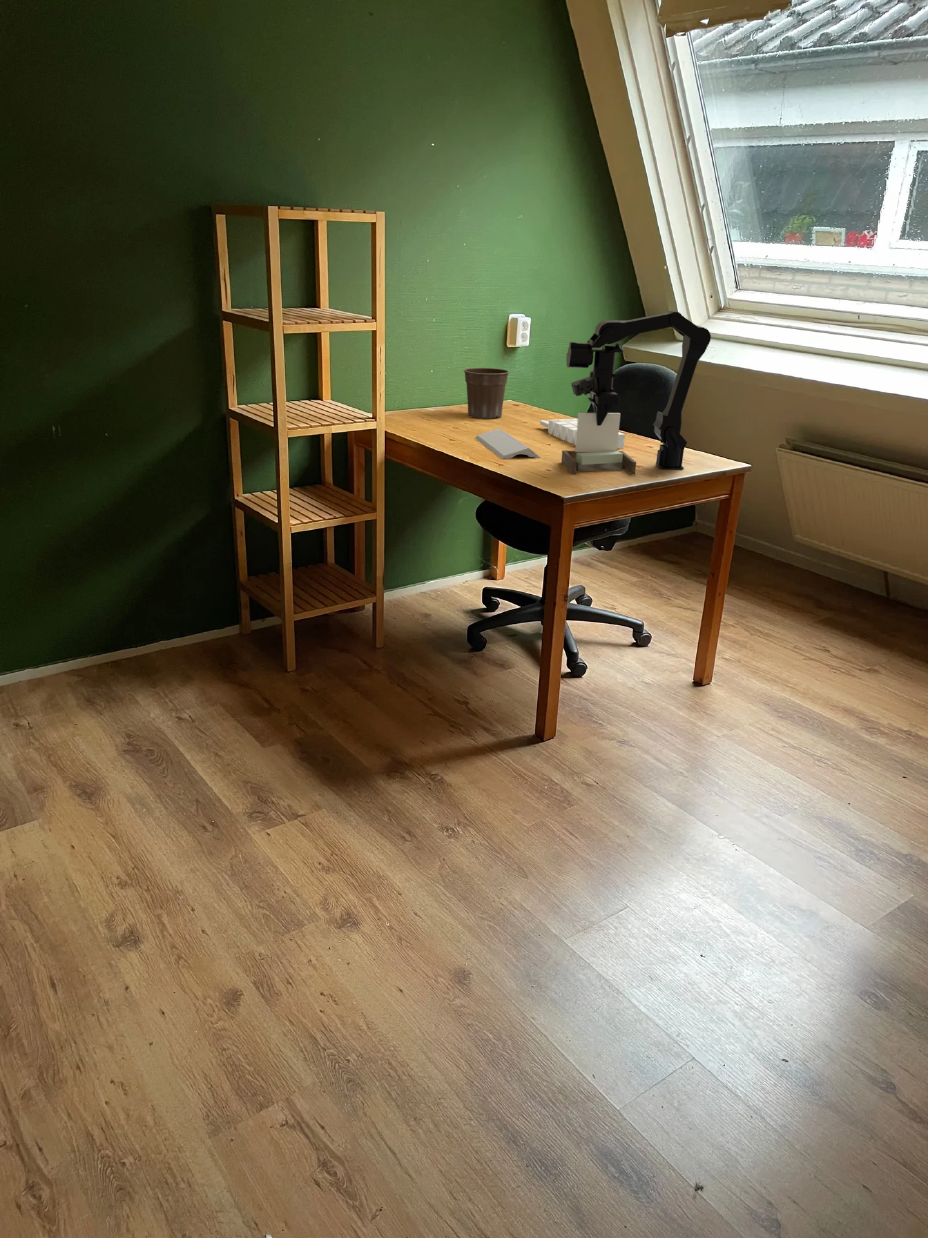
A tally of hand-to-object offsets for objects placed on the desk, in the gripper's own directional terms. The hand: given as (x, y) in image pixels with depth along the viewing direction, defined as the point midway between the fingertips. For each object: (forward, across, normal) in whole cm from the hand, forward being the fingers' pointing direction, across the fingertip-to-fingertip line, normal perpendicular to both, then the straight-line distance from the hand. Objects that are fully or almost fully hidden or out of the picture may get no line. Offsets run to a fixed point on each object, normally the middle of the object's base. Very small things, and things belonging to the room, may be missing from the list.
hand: (598, 424), depth 256 cm
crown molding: (+13, -23, -22) cm, 34 cm away
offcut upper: (+10, +4, 0) cm, 10 cm away
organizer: (+12, -39, +4) cm, 41 cm away
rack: (+12, +3, 0) cm, 12 cm away
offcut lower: (+12, +4, 0) cm, 13 cm away
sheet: (+8, 0, 0) cm, 8 cm away
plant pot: (+12, -75, -22) cm, 79 cm away
